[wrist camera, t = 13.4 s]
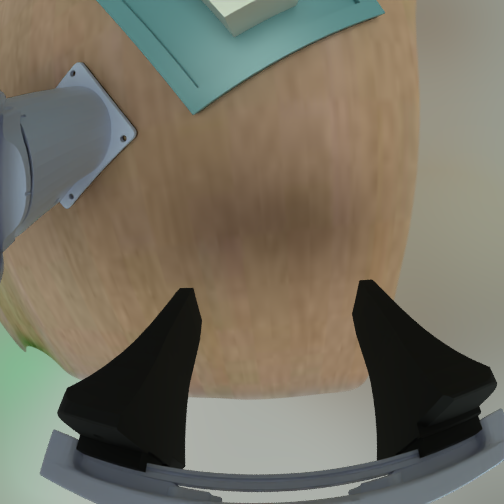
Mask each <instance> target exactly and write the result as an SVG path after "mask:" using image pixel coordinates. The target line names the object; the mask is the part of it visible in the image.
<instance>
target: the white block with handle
mask: <svg viewBox="0 0 504 504" xmlns="http://www.w3.org/2000/svg"><path fill="white" fill-rule="evenodd" d="M202 1H203V3H204V4H205V5H206V6H207V7H208V8H209V9H210V10H211V11H212V12H213V13H214V15H215V16H216V17H217V18H218V19H219V20H220V21H221V22H222V24H223V25H224V26H225V27H226V28H227V29H228V31H229V32H230V33H231V34H232V35H233V37H236V36H238V35H239V34H241V33H243V32H245V31H246V30H248V29H250V28H252V27H254V26H255V25H257V24H259V23H261V22H263V21H265V20H267V19H269V18H271V17H273V16H275V15H277V14H279V13H281V12H283V11H285V10H287V9H290V8H292V7H294V6H296V5H297V2H298V0H202Z"/></svg>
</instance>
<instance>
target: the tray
mask: <svg viewBox="0 0 504 504" xmlns="http://www.w3.org/2000/svg"><path fill="white" fill-rule="evenodd" d="M96 1H97V2H98V3H99V4H100V5H101V6H102V7H103V8H104V9H105V10H106V12H107V13H108V14H109V15H110V16H111V17H112V18H113V19H114V20H115V22H116V23H117V24H118V25H119V26H120V27H121V28H122V30H123V31H124V32H125V33H126V34H127V35H128V37H129V38H130V39H131V40H132V41H133V42H134V43H135V45H136V46H137V47H138V48H139V49H140V51H141V52H142V53H143V54H144V55H145V56H146V58H147V59H148V60H149V61H150V62H151V64H152V65H153V66H154V67H155V68H156V70H157V71H158V72H159V73H160V75H161V76H162V77H163V78H164V79H165V81H166V82H167V83H168V84H169V86H170V87H171V88H172V89H173V91H174V92H175V93H176V94H177V96H178V97H179V98H180V99H181V101H182V102H183V103H184V104H185V106H186V107H187V108H188V109H189V111H190V112H191V113H192V114H193V115H194V114H197V113H199V112H200V111H202V110H203V109H204V108H206V107H207V106H208V105H210V104H211V103H213V102H214V101H216V100H217V99H218V98H220V97H221V96H223V95H224V94H226V93H227V92H229V91H230V90H232V89H233V88H235V87H236V86H238V85H239V84H241V83H243V82H244V81H246V80H247V79H249V78H251V77H252V76H254V75H255V74H257V73H259V72H261V71H262V70H264V69H266V68H267V67H269V66H271V65H273V64H274V63H276V62H278V61H280V60H282V59H283V58H285V57H287V56H289V55H291V54H293V53H295V52H297V51H299V50H301V49H303V48H305V47H307V46H309V45H311V44H313V43H315V42H317V41H319V40H321V39H323V38H326V37H328V36H330V35H332V34H335V33H337V32H339V31H342V30H344V29H347V28H349V27H352V26H354V25H357V24H359V23H362V22H365V21H367V20H370V19H373V18H376V17H378V16H380V15H382V14H384V13H385V12H384V10H383V9H382V8H381V6H380V5H379V3H378V2H377V1H376V0H298V2H297V5H296V6H294V7H292V8H290V9H287V10H285V11H283V12H281V13H279V14H277V15H275V16H273V17H271V18H269V19H267V20H265V21H263V22H261V23H259V24H257V25H255V26H254V27H252V28H250V29H248V30H246V31H245V32H243V33H241V34H239V35H238V36H236V37H233V35H232V34H231V33H230V32H229V31H228V29H227V28H226V27H225V26H224V25H223V24H222V22H221V21H220V20H219V19H218V18H217V17H216V16H215V15H214V13H213V12H212V11H211V10H210V9H209V8H208V7H207V6H206V5H205V4H204V3H203V1H202V0H96Z"/></svg>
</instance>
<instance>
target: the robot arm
mask: <svg viewBox="0 0 504 504" xmlns="http://www.w3.org/2000/svg"><path fill="white" fill-rule="evenodd" d="M74 71H75V76H73V73H74ZM136 134H137V133H136V129H135V128H134V127H133V125H132V124H131V123H130V122H129V120H128V119H127V118H126V117H125V115H124V114H123V113H122V112H121V110H120V109H119V108H118V107H117V105H116V104H115V103H114V101H113V100H112V99H111V98H110V96H109V95H108V94H107V93H106V91H105V90H104V89H103V88H102V86H101V85H100V84H99V82H98V81H97V80H96V79H95V77H94V76H93V75H92V73H91V72H90V71H89V70H88V68H87V67H86V66H85V65H84V63H82V62H78V63H76V64H75V65H74V66H73V67H72V68H71V69H70V70H69V72H68V73H67V74H66V75H65V77H64V78H63V79H62V81H61V82H60V83H59V84H58V86H57V87H56V88H55V89H50V90H44V91H38V92H33V93H28V94H23V95H19V96H15V97H10V98H6V96H5V94H4V93H3V92H2V91H0V282H1V279H2V275H3V270H4V260H3V253H2V252H4V251H5V250H6V249H7V248H8V247H9V246H10V245H11V244H12V243H13V242H14V241H15V237H17V236H19V235H20V234H21V233H23V232H24V231H25V230H26V229H27V228H28V227H29V226H31V225H32V224H33V223H34V222H35V221H36V220H38V219H39V218H40V217H41V216H42V215H44V214H45V213H46V212H47V211H49V210H50V209H51V208H52V207H54V206H55V205H56V204H57V203H59V202H60V203H61V204H62V205H63V207H65V208H66V209H68V208H70V207H71V206H72V205H73V204H74V202H75V201H76V200H77V199H78V198H79V196H80V195H81V194H82V193H83V192H84V190H85V189H86V188H87V187H88V186H89V185H90V184H91V182H92V181H93V180H94V179H95V178H96V177H97V176H98V175H99V174H100V172H101V171H102V170H103V169H104V168H105V167H106V166H107V165H108V164H109V163H110V162H111V161H112V160H113V159H114V158H115V157H116V156H117V155H118V154H119V153H120V152H121V151H122V150H123V149H124V148H125V147H126V146H127V145H128V144H129V143H130V142H131V141H132V140H133V139H134V138H135V137H136ZM123 135H125V136H126V138H127V140H126V141H124V140H123ZM72 194H73V196H74V197H72ZM352 316H353V321H354V326H355V331H356V335H357V338H358V341H359V345H360V348H361V351H362V354H363V357H364V360H365V363H366V367H367V370H368V373H369V377H370V381H371V387H372V393H373V399H374V407H375V416H376V428H377V461H374V462H369V463H365V464H360V465H354V466H349V467H343V468H337V469H330V470H323V471H314V472H305V473H291V474H269V475H245V474H223V473H210V472H200V471H192V470H184V469H183V468H184V467H185V428H186V413H187V400H188V392H189V386H190V380H191V376H192V372H193V368H194V363H195V359H196V355H197V351H198V346H199V342H200V334H201V325H202V319H201V315H200V312H199V308H198V304H197V301H196V297H195V293H194V289H193V288H180V289H179V290H178V291H177V292H176V293H175V295H174V296H173V297H172V299H171V300H170V301H169V302H168V304H167V305H166V306H165V307H164V309H163V310H162V311H161V312H160V313H159V315H158V316H157V317H156V318H155V319H154V321H153V322H152V323H151V324H150V325H149V326H148V327H147V328H146V330H145V331H144V332H143V333H142V334H141V335H140V336H139V337H138V338H137V339H136V340H135V341H134V342H133V343H132V344H131V345H130V346H129V347H128V348H127V349H125V350H124V351H123V352H122V353H121V354H120V355H118V356H117V357H116V358H114V359H113V360H112V361H111V362H109V363H108V364H107V365H105V366H104V367H103V368H101V369H100V370H98V371H97V372H95V373H93V374H92V375H90V376H89V377H87V378H85V379H83V380H82V381H80V382H78V383H76V384H74V385H72V386H70V387H68V388H67V390H66V392H65V394H64V397H63V399H62V402H61V404H60V407H59V409H58V412H57V413H58V416H59V418H60V419H61V420H62V421H63V422H64V423H66V424H67V425H68V426H69V427H71V428H72V429H73V430H75V431H76V432H78V433H79V434H80V438H79V440H78V439H76V438H74V437H72V436H69V435H67V434H64V433H61V432H59V431H57V430H53V432H52V435H51V438H50V441H49V444H48V447H47V451H46V454H45V457H44V460H43V464H42V468H41V471H40V474H41V476H43V477H45V478H46V479H48V480H50V481H52V482H54V483H56V484H57V485H59V486H61V487H63V488H65V489H67V490H69V491H71V492H73V493H75V494H77V495H79V496H81V497H83V498H85V499H88V500H90V501H92V502H94V503H97V504H429V503H431V502H433V501H436V500H438V499H440V498H442V497H444V496H446V495H448V494H450V493H452V492H454V491H455V490H457V489H459V488H461V487H463V486H464V485H466V484H468V483H469V482H471V481H473V480H475V479H476V478H478V477H479V476H481V475H483V474H484V473H486V472H487V471H489V470H491V469H492V468H494V467H495V466H497V465H498V464H500V463H501V462H502V461H504V413H503V410H502V409H499V410H497V411H495V412H493V413H491V414H489V415H487V416H486V417H484V418H482V419H481V420H479V417H478V415H479V414H480V413H481V410H480V407H479V406H480V405H481V404H482V403H483V402H484V401H485V400H486V399H487V398H488V397H489V396H490V395H491V394H492V393H493V391H494V390H495V388H496V386H497V382H496V380H495V378H494V375H493V373H492V371H491V369H490V367H488V366H486V365H483V364H481V363H479V362H476V361H475V360H472V359H470V358H468V357H466V356H465V355H463V354H461V353H459V352H457V351H455V350H454V349H452V348H450V347H449V346H447V345H446V344H444V343H443V342H441V341H440V340H438V339H437V338H436V337H434V336H433V335H432V334H430V333H429V332H427V331H426V330H425V329H424V328H423V327H421V326H420V325H419V324H418V323H417V322H416V321H414V320H413V319H412V318H411V317H410V316H409V315H408V314H407V313H406V312H405V311H403V310H402V309H401V308H400V307H399V306H398V305H397V304H396V303H395V302H394V301H393V300H392V299H391V298H390V297H389V296H388V295H387V294H386V293H385V292H384V291H383V290H382V289H381V288H380V287H379V286H378V285H377V284H376V283H375V282H374V281H373V280H360V281H359V285H358V290H357V295H356V299H355V304H354V308H353V312H352ZM388 474H389V475H388ZM385 475H388V476H385ZM380 476H385V477H382V478H379V479H375V480H372V481H369V482H365V483H362V484H361V485H360V486H359V487H357V488H354V489H351V490H349V492H348V493H349V495H347V496H341V497H335V498H327V499H319V500H309V501H298V502H285V503H224V502H222V498H221V497H217V496H213V495H211V494H210V493H209V492H204V491H199V490H193V489H188V488H183V487H179V486H186V487H193V488H201V489H210V490H222V491H240V492H278V491H296V490H307V489H317V488H325V487H332V486H338V485H344V484H349V483H354V482H359V481H364V480H369V479H373V478H377V477H380ZM178 485H179V486H178Z"/></svg>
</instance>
